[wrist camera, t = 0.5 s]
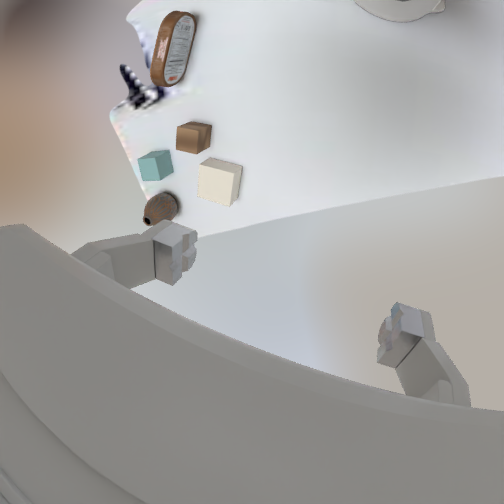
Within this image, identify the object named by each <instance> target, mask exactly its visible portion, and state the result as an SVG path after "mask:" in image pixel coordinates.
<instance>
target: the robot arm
mask: <svg viewBox="0 0 504 504" xmlns="http://www.w3.org/2000/svg"><path fill="white" fill-rule="evenodd" d="M354 1H355V2H356V3H357V4H358V5H359V6H360V7H362V8H363V9H364V10H366V11H367V12H369V13H371V14H373V15H375V16H377V17H380V18H382V19H385V20H389V21H395V22H410V21H414V20H417V19H419V18H421V17H423V16H424V15H426V14H428V13H438V12H442V11H443V10H444V9H445V1H444V0H354ZM196 241H197V232H196V230H193V229H190V228H188V227H185V226H182V225H180V224H177V223H174V222H172V221H169V220H162V221H160V222H159V223H157V224H156V225H154V226H153V227H151V228H150V229H148V230H147V231H145V232H144V233H142V234H141V235H140V234H133V235H127V236H122V237H116V238H111V239H105V240H100V241H95V242H90V243H87V244H85V245H84V246H83V247H81V248H79V249H78V250H77V251H75V252H73V253H72V254H68V253H67V252H65V251H64V250H62V249H60V248H59V247H57V246H56V245H54V244H53V243H51V242H50V241H48V240H47V239H45V238H44V237H42V236H41V235H39V234H38V233H36V232H35V231H34V230H32V229H31V228H30V227H28V226H27V225H24V224H14V225H7V226H2V227H0V504H504V411H496V410H487V409H479V408H472V407H471V402H470V394H469V387H468V384H467V382H466V381H465V379H464V378H463V377H462V375H461V373H460V372H459V371H458V369H457V368H456V366H455V365H454V363H453V362H452V360H451V359H450V358H449V356H448V355H447V353H446V352H445V350H444V349H443V348H442V346H441V345H440V344H439V343H438V342H436V339H435V333H434V328H433V324H432V318H431V314H430V313H429V312H426V311H423V310H420V309H416V308H413V307H410V306H407V305H404V304H401V303H398V302H396V304H394V306H393V307H392V309H391V316H389V317H387V318H386V319H385V320H384V322H383V323H382V326H381V328H380V330H379V335H378V341H379V343H380V345H381V346H380V347H379V349H378V355H377V363H380V364H383V365H386V366H389V367H392V368H395V370H396V372H397V375H398V377H399V380H400V382H401V384H402V387H403V389H404V391H405V394H406V395H404V394H399V393H395V392H391V391H387V390H383V389H379V388H376V387H372V386H368V385H365V384H361V383H358V382H354V381H351V380H348V379H344V378H341V377H338V376H334V375H331V374H328V373H325V372H322V371H319V370H316V369H313V368H310V367H307V366H304V365H301V364H298V363H296V362H293V361H290V360H287V359H285V358H282V357H279V356H276V355H274V354H271V353H268V352H266V351H263V350H261V349H258V348H255V347H253V346H250V345H248V344H245V343H243V342H241V341H238V340H236V339H233V338H231V337H228V336H226V335H224V334H221V333H219V332H217V331H214V330H212V329H210V328H208V327H206V326H203V325H201V324H199V323H197V322H194V321H192V320H190V319H188V318H186V317H184V316H182V315H179V314H177V313H175V312H173V311H171V310H169V309H167V308H165V307H163V306H161V305H159V304H157V303H155V302H153V301H151V300H149V299H147V298H145V297H143V296H142V295H140V294H138V293H136V292H134V291H132V290H130V289H131V288H133V287H136V286H139V285H142V284H144V283H147V282H149V281H152V280H155V278H156V279H158V280H160V281H163V282H165V283H167V284H170V285H172V286H173V285H174V284H175V283H176V282H177V281H178V280H179V279H180V278H181V277H182V272H185V271H188V269H190V268H191V267H192V265H193V263H194V261H195V258H196V248H195V246H194V243H195V242H196Z"/></svg>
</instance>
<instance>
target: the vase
mask: <svg viewBox="0 0 504 504" xmlns="http://www.w3.org/2000/svg"><path fill="white" fill-rule="evenodd" d="M176 212H177V203H176V201H175V199H174V198H173V197H172V196H171V195H169V194H165V193H162V194H158V195H155V196H154V197H152V198H151V199H150V200H149V201H148V202H147V204H146V206H145V210H144V217H143V222H144V223H145V224H146V225H147V226H152V225H153V226H154V225H156V224H157V223H159V222H160V221H162V220H169V221H171V220H172V219H173V218H174V217H175V215H176Z"/></svg>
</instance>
